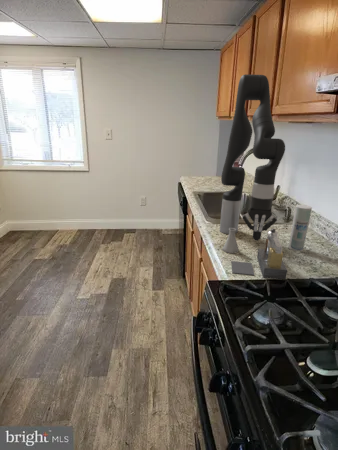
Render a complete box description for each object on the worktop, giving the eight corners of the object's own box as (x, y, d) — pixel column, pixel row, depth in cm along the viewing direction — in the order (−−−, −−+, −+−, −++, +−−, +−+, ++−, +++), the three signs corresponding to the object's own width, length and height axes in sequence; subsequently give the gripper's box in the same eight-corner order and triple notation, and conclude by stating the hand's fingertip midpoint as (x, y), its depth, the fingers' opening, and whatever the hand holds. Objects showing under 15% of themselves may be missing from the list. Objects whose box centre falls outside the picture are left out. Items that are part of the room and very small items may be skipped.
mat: (231, 261, 122) (231, 260, 122) (251, 263, 121) (251, 262, 121) (232, 273, 112) (232, 272, 112) (254, 275, 111) (254, 274, 111)
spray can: (301, 246, 140) (309, 205, 134) (305, 252, 134) (313, 209, 127) (286, 245, 141) (294, 204, 134) (289, 250, 135) (297, 207, 128)
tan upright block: (267, 260, 115) (269, 247, 113) (278, 261, 114) (280, 248, 112) (269, 266, 110) (271, 253, 108) (280, 267, 109) (283, 254, 108)
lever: (266, 237, 121) (268, 227, 120) (275, 237, 121) (277, 228, 119) (273, 252, 106) (275, 242, 105) (283, 253, 106) (285, 242, 105)
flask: (227, 245, 138) (229, 225, 135) (241, 250, 134) (243, 229, 130) (218, 250, 133) (220, 229, 129) (233, 255, 128) (236, 233, 125)
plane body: (257, 257, 127) (260, 235, 124) (276, 259, 126) (280, 237, 123) (262, 277, 110) (266, 253, 107) (285, 280, 109) (290, 255, 106)
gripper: (279, 194, 111) (272, 238, 117) (242, 192, 113) (237, 235, 119) (283, 199, 104) (275, 245, 110) (244, 196, 106) (239, 242, 112)
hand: (256, 239), depth 114 cm, fingers closed
